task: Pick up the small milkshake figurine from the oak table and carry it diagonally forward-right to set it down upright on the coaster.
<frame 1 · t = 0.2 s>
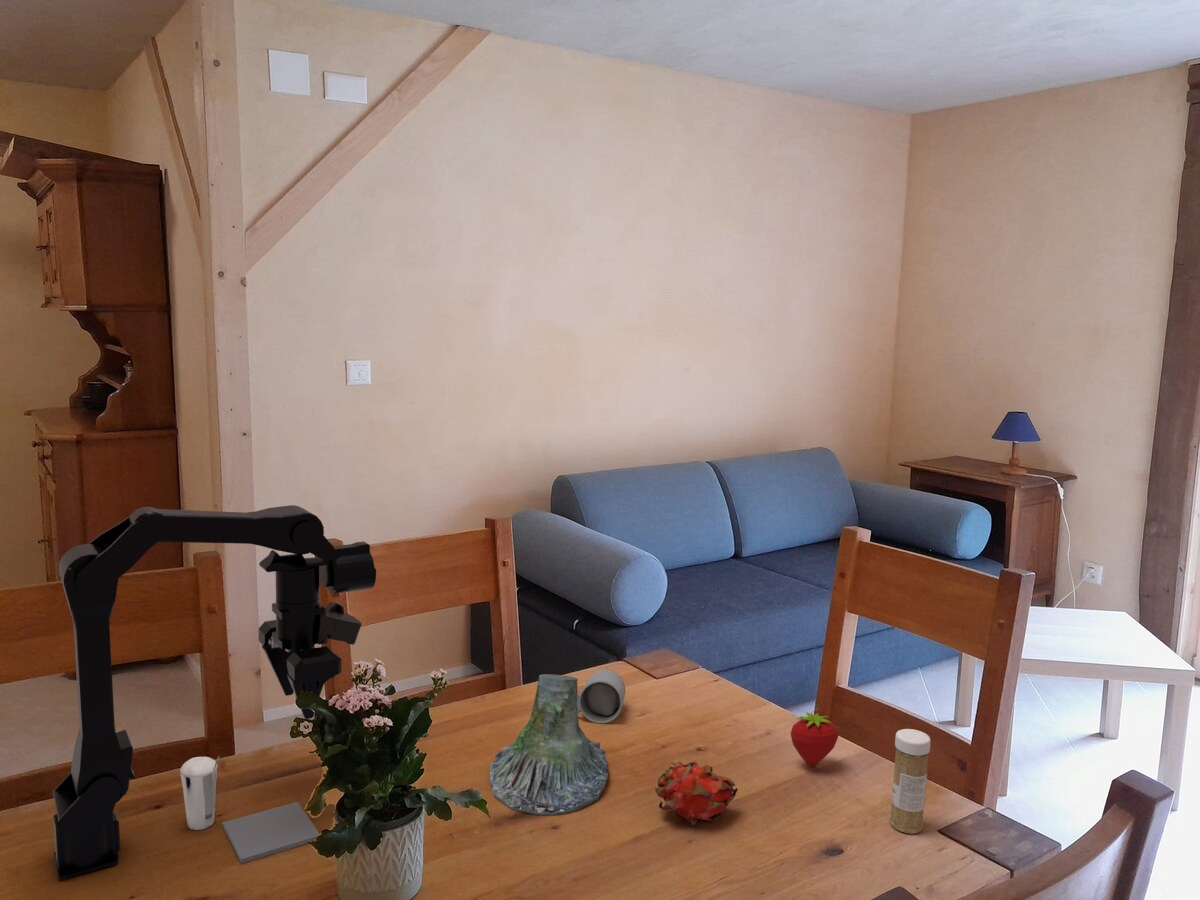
hand: (298, 706, 127), 14 cm above the table, tool pointing down, fingers open, 9 cm apart
strawberry: (812, 768, 143), on the table
tree stump: (548, 780, 137), on the table
coaster: (271, 832, 121), on the table
dragon fruit: (695, 816, 128), on the table
milkshake: (203, 825, 123), on the table
ceramic mug: (595, 715, 160), on the table
spice jar: (906, 827, 126), on the table
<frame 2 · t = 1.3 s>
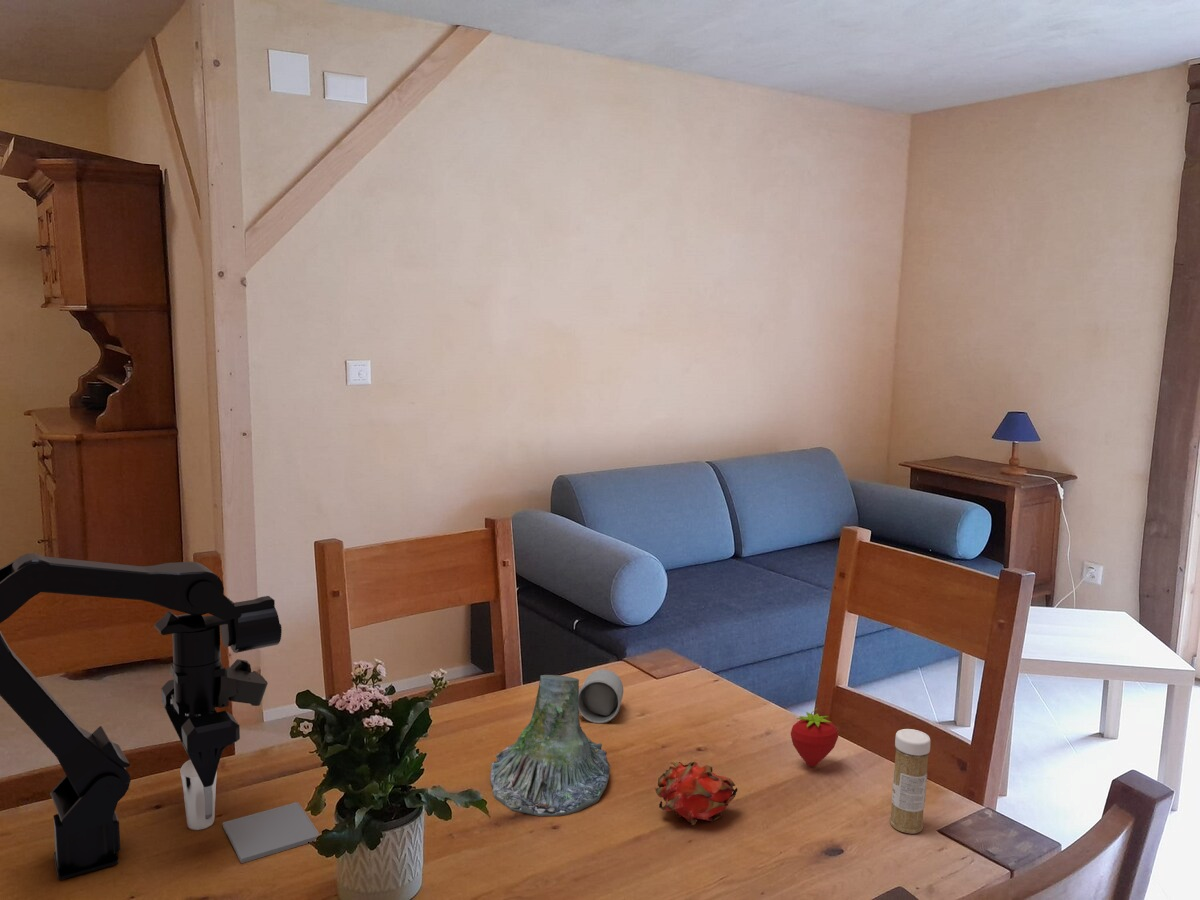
hand: (200, 771, 121), 8 cm above the table, tool pointing down, fingers open, 9 cm apart
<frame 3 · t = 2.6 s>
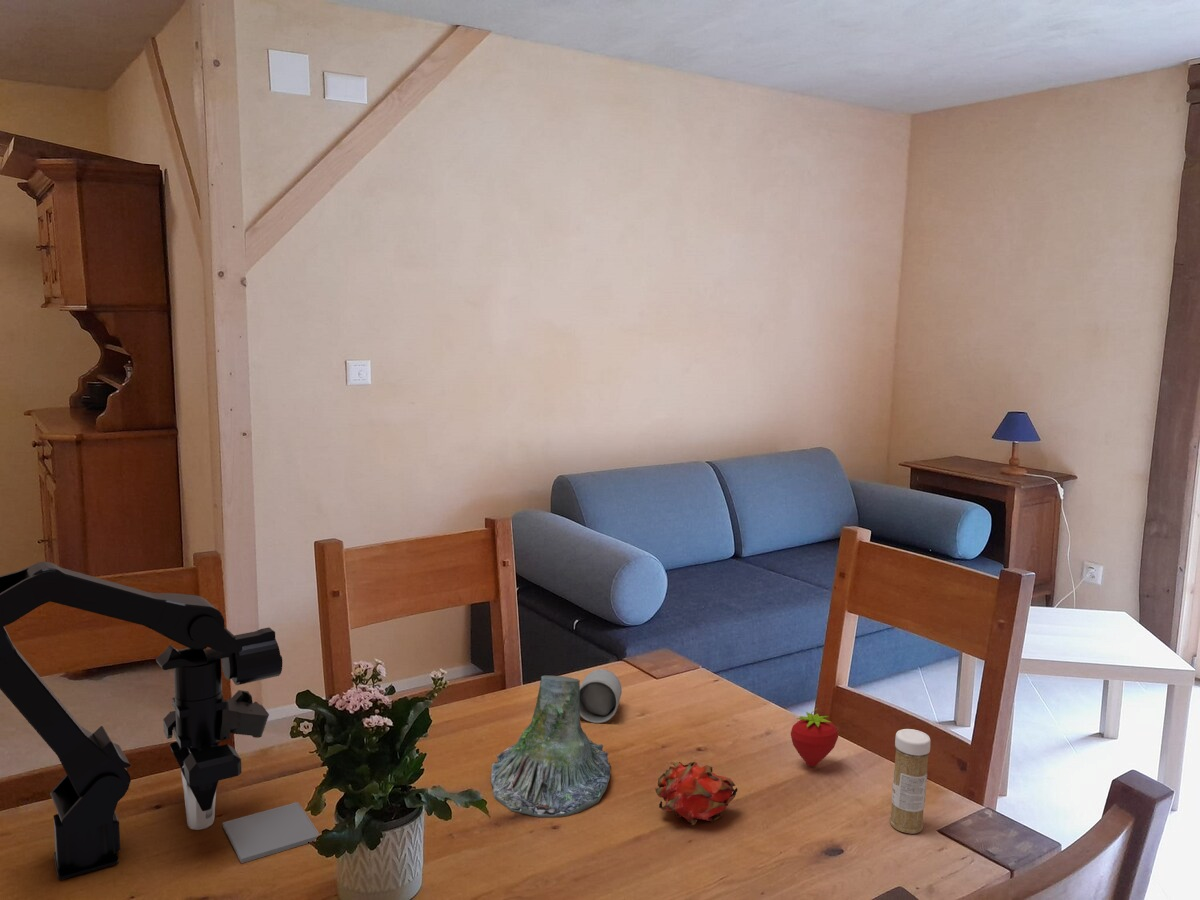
hand: (202, 802, 122), 3 cm above the table, tool pointing down, fingers closed on milkshake, 4 cm apart
milkshake: (203, 825, 123), on the table, touching gripper
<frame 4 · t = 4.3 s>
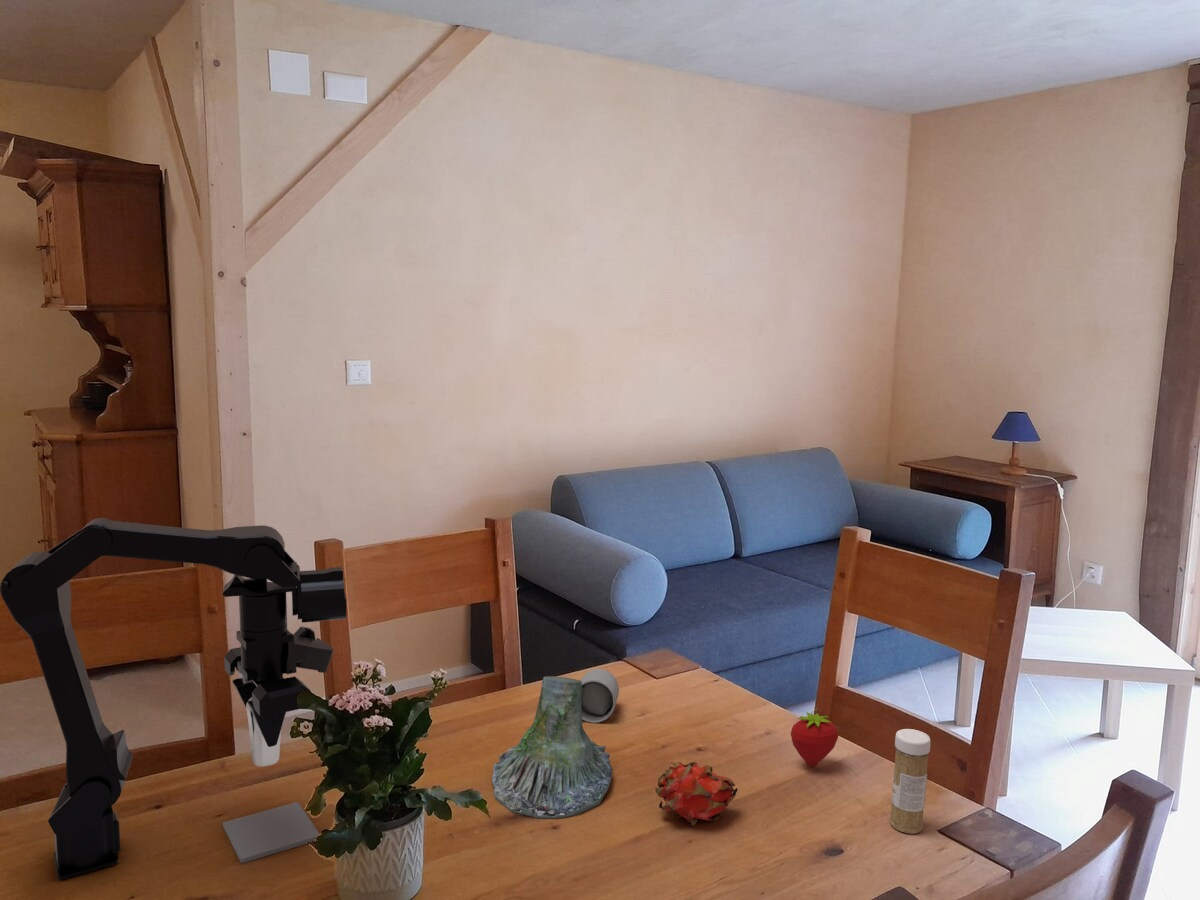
hand: (267, 739, 119), 13 cm above the table, tool pointing down, fingers closed on milkshake, 4 cm apart
milkshake: (268, 762, 120), point 10 cm above the table, touching gripper
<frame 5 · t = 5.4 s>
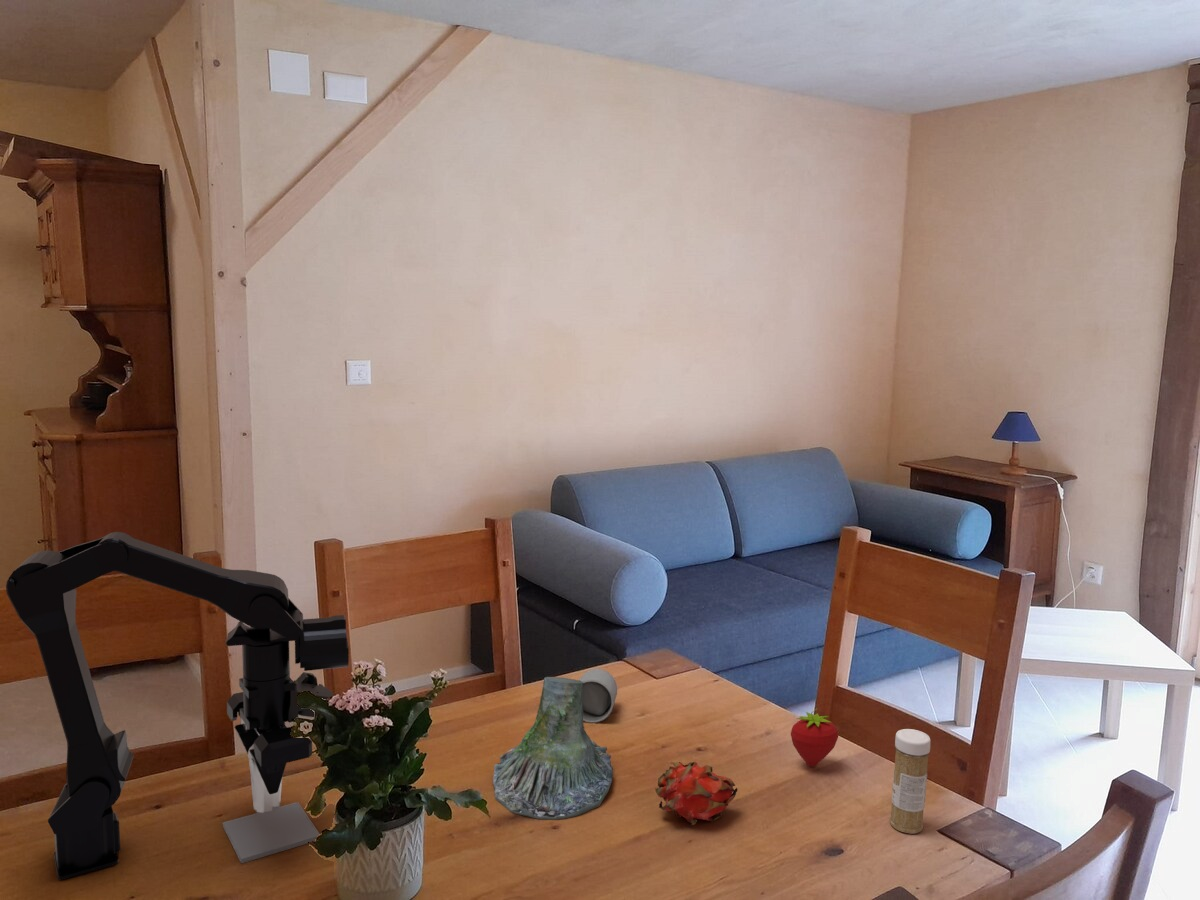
hand: (268, 786, 120), 7 cm above the table, tool pointing down, fingers closed on milkshake, 4 cm apart
milkshake: (269, 808, 120), point 3 cm above the table, touching gripper
when the fingers open (5 cm above the table, at t = 6.0 s): milkshake drops 2 cm, resting on coaster.
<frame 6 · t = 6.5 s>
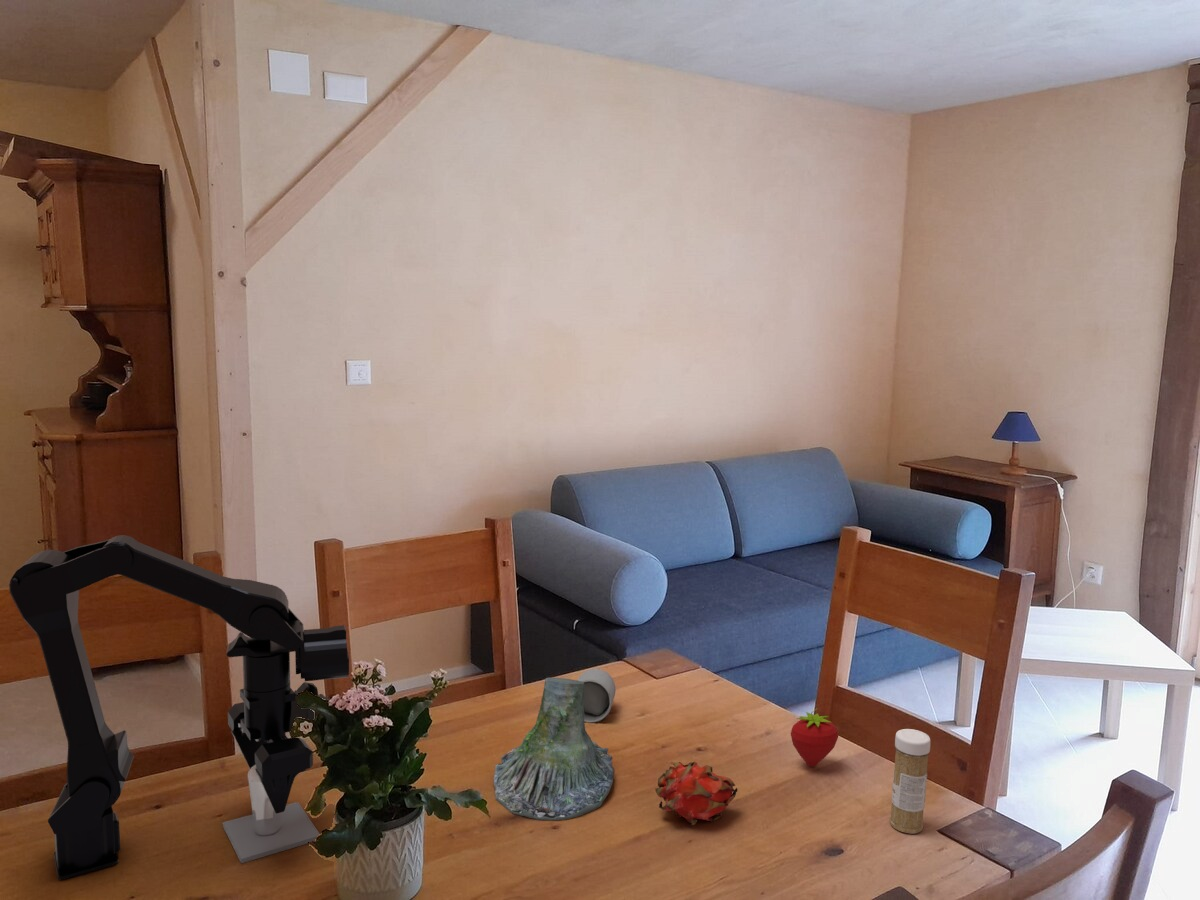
hand: (270, 796, 120), 5 cm above the table, tool pointing down, fingers open, 9 cm apart
milkshake: (270, 831, 121), resting on coaster
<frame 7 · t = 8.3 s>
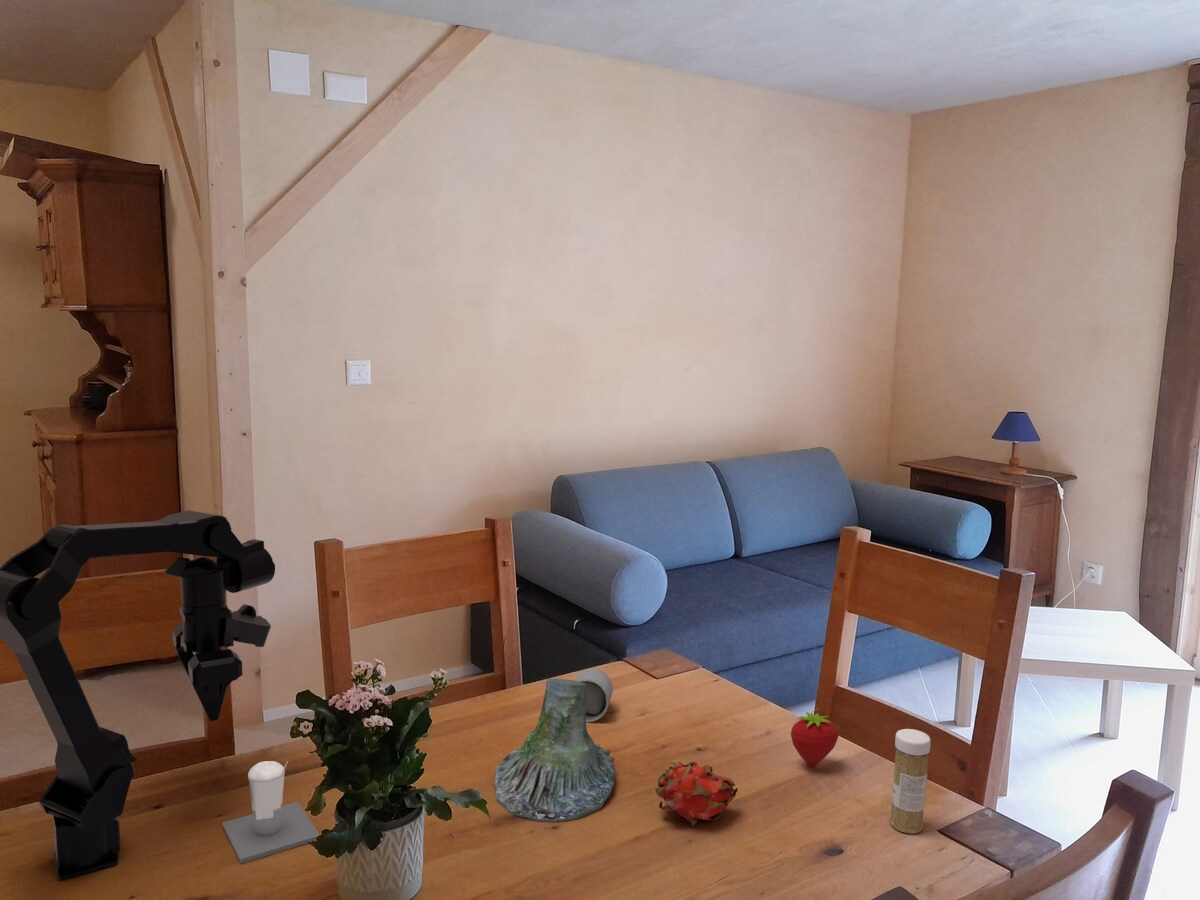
hand: (208, 707, 129), 13 cm above the table, tool pointing down, fingers open, 9 cm apart
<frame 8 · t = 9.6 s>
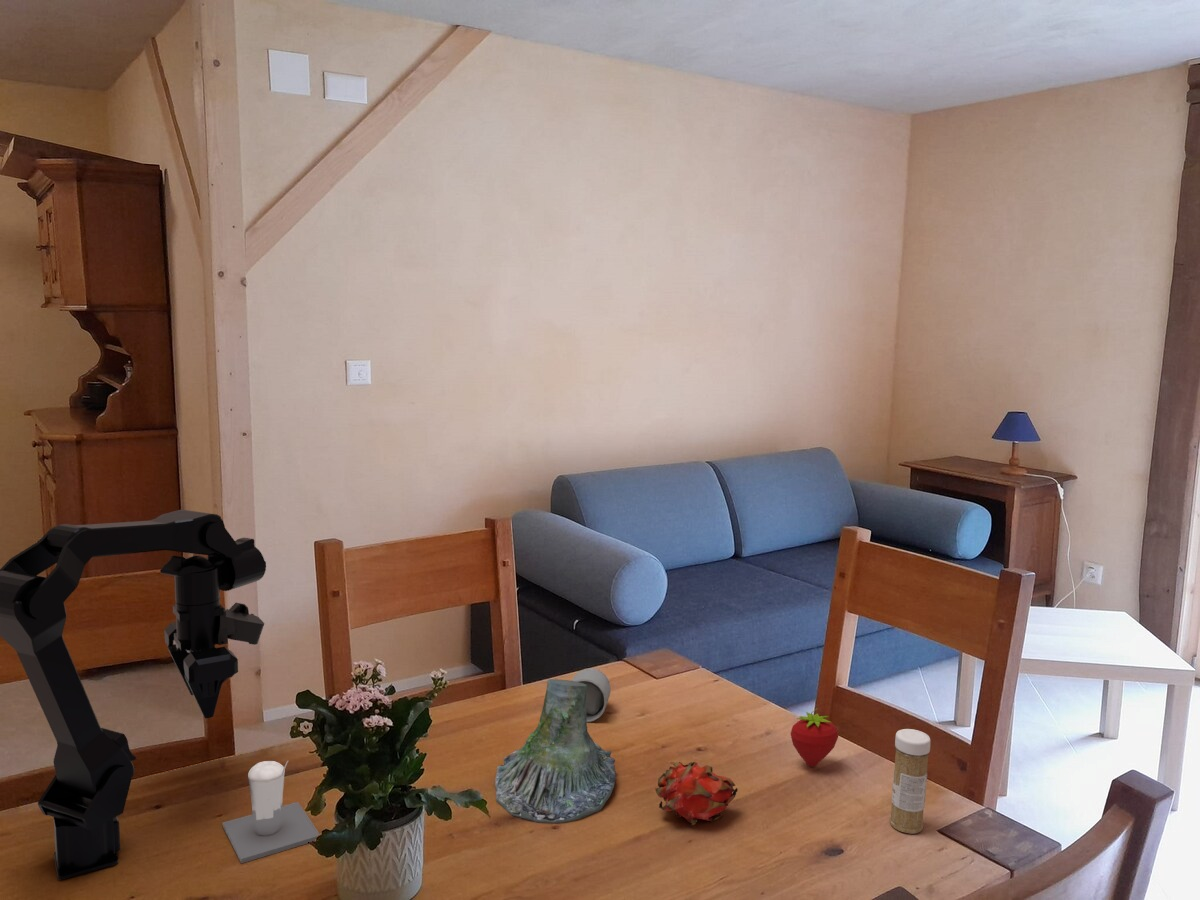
hand: (201, 705, 129), 13 cm above the table, tool pointing down, fingers open, 9 cm apart
at the end: milkshake 0.2 cm from the coaster (horizontally); milkshake tilted 0°; the gripper is holding nothing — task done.
